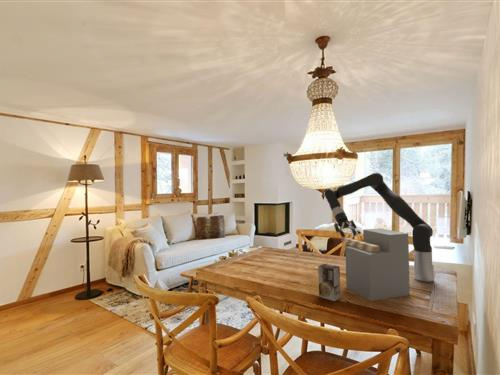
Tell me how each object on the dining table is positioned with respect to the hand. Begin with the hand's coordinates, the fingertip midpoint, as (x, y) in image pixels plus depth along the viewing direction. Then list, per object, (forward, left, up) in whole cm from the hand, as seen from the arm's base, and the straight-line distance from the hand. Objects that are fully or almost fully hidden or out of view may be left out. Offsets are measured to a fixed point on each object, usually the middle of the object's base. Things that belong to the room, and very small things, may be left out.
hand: (349, 236), depth 181 cm
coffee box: (+14, +42, -25) cm, 51 cm away
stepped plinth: (-11, +28, -25) cm, 39 cm away
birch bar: (-2, +26, -2) cm, 26 cm away
